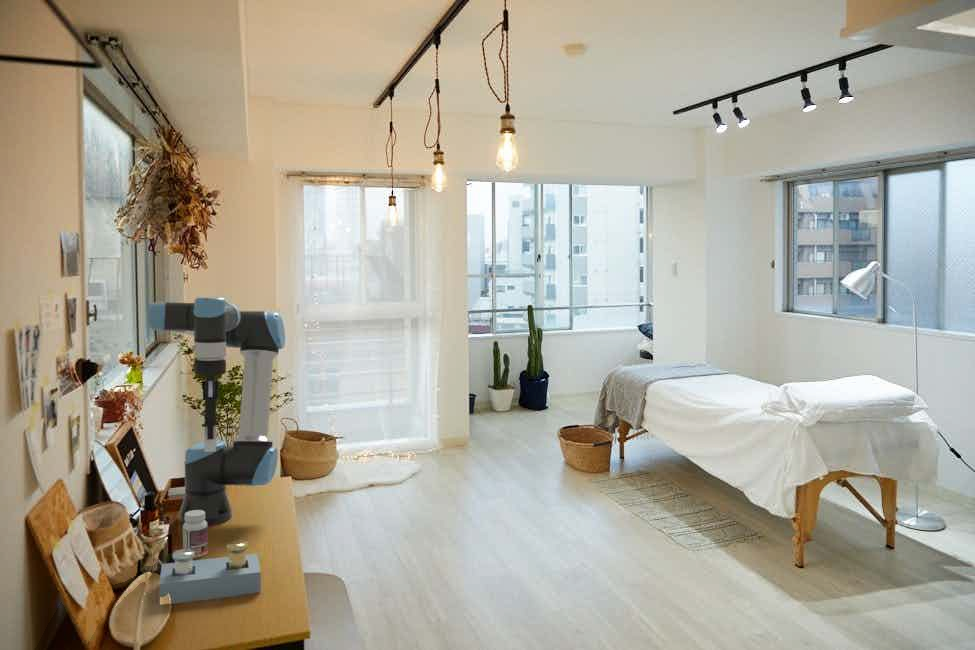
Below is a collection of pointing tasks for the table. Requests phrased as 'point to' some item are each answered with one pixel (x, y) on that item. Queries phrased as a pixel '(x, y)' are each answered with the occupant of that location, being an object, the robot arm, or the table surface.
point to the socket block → (210, 580)
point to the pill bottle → (195, 532)
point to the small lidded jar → (183, 561)
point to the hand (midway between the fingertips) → (210, 450)
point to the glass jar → (237, 554)
